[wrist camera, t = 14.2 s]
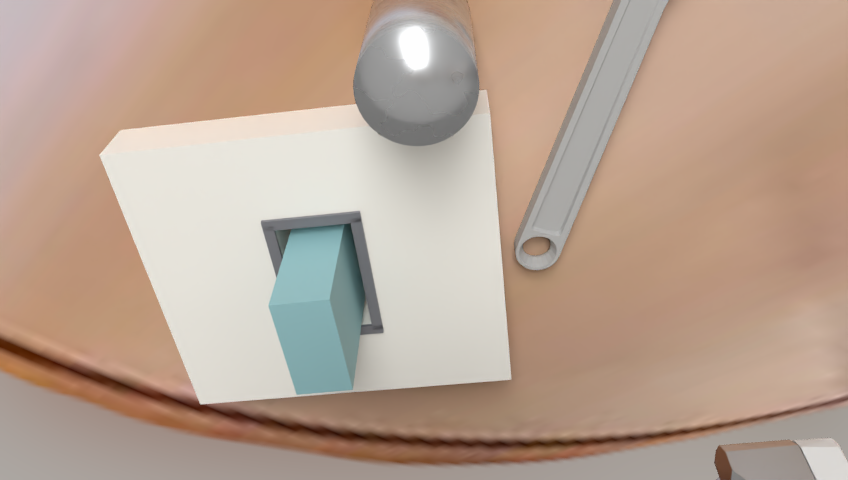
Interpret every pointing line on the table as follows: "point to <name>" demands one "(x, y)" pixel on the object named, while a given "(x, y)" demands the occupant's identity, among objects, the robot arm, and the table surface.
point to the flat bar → (319, 308)
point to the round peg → (417, 70)
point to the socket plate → (310, 207)
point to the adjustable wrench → (587, 127)
